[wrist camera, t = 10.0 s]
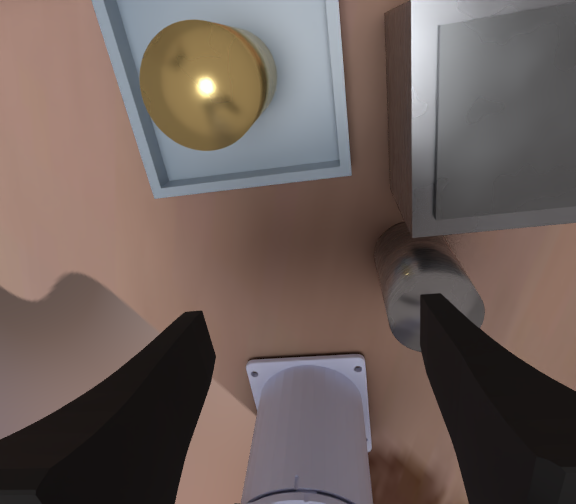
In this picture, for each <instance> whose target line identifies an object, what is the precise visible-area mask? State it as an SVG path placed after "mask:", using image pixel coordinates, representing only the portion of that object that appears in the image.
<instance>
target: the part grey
mask: <svg viewBox="0 0 576 504" xmlns="http://www.w3.org/2000/svg"><path fill="white" fill-rule="evenodd" d="M374 258H375V263H376V268H377V272H378V276H379V281H380V285H381V290H382V294H383V299H384V303H385V307H386V312H387V316H388V321H389V325H390V328H391V331H392V333H393V335H394V336H395V338H396V339H397V340H398V341H399V342H400V343H401V344H403V345H404V346H406V347H408V348H410V349H412V350H415V351H419V352H421V347H420V295H421V294H435V293H441V294H442V295H443V296H444V297H445V298H447V299H448V300H449V301H450V302H451V303H452V304H453V305H454V306H455V307H456V308H457V309H458V310H459V311H460V312H462V313H463V314H464V315H465V316H466V317H467V318H468V319H469V320H470V321H472V322H473V323H474V324H475V325H476V326H477V327H479V328H480V327H481V325H482V323H483V320H484V313H485V310H484V304H483V301H482V299H481V297H480V296H479V294H478V292H477V291H476V289H475V287H474V286H473V284H472V282H471V281H470V279H469V278H468V276H467V274H466V273H465V271H464V269H463V268H462V266H461V264H460V263H459V261H458V259H457V258H456V256H455V255H454V253H453V251H452V250H451V248H450V246H449V245H448V243H447V241H446V240H445V238H444V236H443V235H439V236H428V237H418V238H412V236H411V234H410V232H409V230H408V227H407V225H406V223H405V222H402V223H399V224H397V225H394V226H393V227H391V228H389V229H388V230H387V231H386V232H385V233H383V235H382V236H381V237H380V239H379V240H378V242H377V244H376V247H375V252H374Z"/></svg>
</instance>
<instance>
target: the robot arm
mask: <svg viewBox="0 0 576 504" xmlns="http://www.w3.org/2000/svg"><path fill="white" fill-rule="evenodd" d="M420 347H421V352H422V356H423V360H424V365H425V369H426V373H427V376H428V378H429V381H430V384H431V387H432V389H433V392H434V395H435V397H436V400H437V403H438V405H439V408H440V411H441V413H442V416H443V419H444V421H445V424H446V426H447V429H448V432H449V434H450V437H451V440H452V443H453V446H454V449H455V452H456V456H457V459H458V463H459V467H460V471H461V474H462V478H463V482H464V486H465V490H466V493H467V497H468V501H469V504H576V391H574V390H572V389H570V388H568V387H567V386H565V385H563V384H561V383H559V382H557V381H555V380H554V379H552V378H550V377H548V376H547V375H545V374H543V373H542V372H540V371H538V370H537V369H535V368H534V367H532V366H530V365H529V364H527V363H526V362H524V361H523V360H521V359H519V358H518V357H516V356H515V355H514V354H512V353H511V352H509V351H508V350H507V349H505V348H504V347H503V346H501V345H500V344H498V343H497V342H496V341H494V340H493V339H492V338H491V337H489V336H488V335H487V334H486V333H485V332H483V331H482V330H481V329H480V328H479V327H477V326H476V325H475V324H474V323H473V322H472V321H470V320H469V319H468V318H467V317H466V316H465V315H464V314H463V313H462V312H460V311H459V310H458V309H457V308H456V307H455V306H454V305H453V304H452V303H451V302H450V301H449V300H448V299H447V298H445V297H444V296H443V295H442V294H441V293H435V294H421V295H420ZM215 359H216V355H215V352H214V349H213V345H212V342H211V339H210V335H209V332H208V329H207V325H206V322H205V319H204V315H203V312H202V311H191V312H185V313H183V314H182V315H181V316H180V317H178V318H177V319H176V320H175V321H174V322H173V323H172V324H170V325H169V326H168V327H167V328H166V329H165V330H164V331H163V332H162V333H161V334H159V335H158V336H157V337H156V338H155V339H154V340H153V341H152V342H151V343H150V344H148V345H147V346H146V347H145V348H144V349H143V350H141V352H139V353H138V354H137V355H135V356H134V357H133V358H132V359H131V360H129V361H128V362H127V363H126V364H124V365H123V366H122V367H121V368H120V369H118V370H117V371H116V372H114V373H113V374H112V375H110V376H109V377H108V378H106V379H105V380H104V381H102V382H101V383H99V384H98V385H97V386H95V387H94V388H92V389H91V390H89V391H88V392H86V393H85V394H83V395H81V396H80V397H78V398H77V399H75V400H74V401H72V402H70V403H68V404H67V405H65V406H63V407H62V408H61V409H59V410H57V411H55V412H54V413H52V414H50V415H48V416H46V417H44V418H43V419H41V420H39V421H37V422H35V423H33V424H31V425H29V426H27V427H26V428H24V429H21V430H20V431H17V432H15V433H13V434H11V435H10V436H7V437H5V438H3V439H1V440H0V504H175V500H176V495H177V490H178V486H179V482H180V477H181V473H182V469H183V465H184V461H185V457H186V454H187V450H188V447H189V444H190V441H191V438H192V436H193V433H194V430H195V427H196V424H197V421H198V419H199V416H200V413H201V410H202V407H203V404H204V401H205V398H206V396H207V392H208V390H209V386H210V383H211V379H212V375H213V370H214V364H215ZM356 366H360V367H359V368H356ZM246 370H247V374H248V378H249V382H250V385H251V389H252V393H253V397H254V401H255V405H256V408H257V417H256V423H255V429H254V434H253V439H252V445H251V450H250V456H249V461H248V467H247V472H246V478H245V483H244V489H243V495H242V499H241V504H373V499H372V489H371V480H370V470H369V460H368V452H369V451H371V449H372V444H371V431H370V418H369V405H368V392H367V379H366V367H365V359H364V357H363V356H362V355H360V354H347V355H329V356H310V357H292V358H274V359H256V360H250V361H248V362H247V365H246ZM253 371H254V372H257V373H254V372H253ZM235 504H237V503H235Z"/></svg>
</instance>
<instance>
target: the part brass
mask: <svg viewBox="0 0 576 504" xmlns="http://www.w3.org/2000/svg"><path fill="white" fill-rule="evenodd" d="M139 79H140V90H141V95H142V99H143V102H144V105H145V107H146V109H147V112H148V113H149V115H150V117H151V119H152V120H153V121H154V123H155V124H156V126H157V127H158V128H159V129H160V130H161V131H162V132H163V133H164V134H165V135H166V136H167V137H169V138H170V139H172V140H173V141H174V142H176V143H178V144H180V145H182V146H184V147H187V148H190V149H194V150H200V151H213V150H219V149H222V148H225V147H227V146H230V145H232V144H233V143H235V142H236V141H238V140H239V139H240V138H241V137H242V136H243V135H244V134H245V133H246V132H247V131H248V130H249V129H250V127H251V126H252V125H253V124H254V123H255V121H256V120H257V119H258V118H259V117H260V115H261V114H262V113H263V112H264V111H265V109H266V108H267V107H268V106H269V104H270V103H271V101H272V99H273V97H274V94H275V91H276V86H277V70H276V65H275V61H274V59H273V56H272V54H271V52H270V51H269V49H268V47H267V46H266V45H265V44H264V42H263V41H262V40H261V39H259V38H258V37H257V36H256V35H254V34H253V33H251V32H249V31H247V30H244V29H240V28H236V27H231V26H227V25H222V24H218V23H213V22H209V21H204V20H196V19H195V20H183V21H179V22H176V23H173V24H171V25H169V26H167V27H165V28H164V29H162V30H161V31H160V32H159V33H158V34H157V35H156V36H155V37H154V38H153V39H152V40H151V42H150V43H149V45H148V46H147V48H146V50H145V52H144V55H143V58H142V61H141V67H140V77H139Z"/></svg>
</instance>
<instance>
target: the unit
mask: <svg viewBox="0 0 576 504" xmlns="http://www.w3.org/2000/svg"><path fill="white" fill-rule="evenodd" d="M385 42H386V74H387V106H388V138H389V170H390V189H391V192H392V194H393V196H394V198H395V201H396V203H397V205H398V207H399V209H400V212H401V214H402V216H403V218H404V221H405V223H406V225H407V227H408V230H409V232H410V234H411V236H412V238H418V237H428V236H439V235H450V234H460V233H471V232H482V231H492V230H503V229H513V228H524V227H535V226H545V225H556V224H567V223H576V0H410V1H408V2H406V3H404V4H402V5H400V6H398V7H396V8H394V9H392V10H390V11H388V12H386V13H385Z"/></svg>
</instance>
